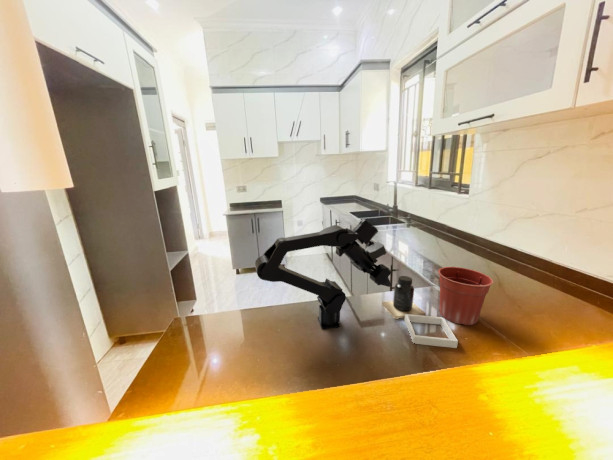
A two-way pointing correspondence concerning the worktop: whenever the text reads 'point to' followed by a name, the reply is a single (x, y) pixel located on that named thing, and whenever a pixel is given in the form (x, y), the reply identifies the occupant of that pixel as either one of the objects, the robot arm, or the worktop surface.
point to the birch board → (401, 314)
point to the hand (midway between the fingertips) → (382, 280)
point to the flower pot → (462, 294)
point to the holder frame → (432, 341)
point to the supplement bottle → (403, 294)
